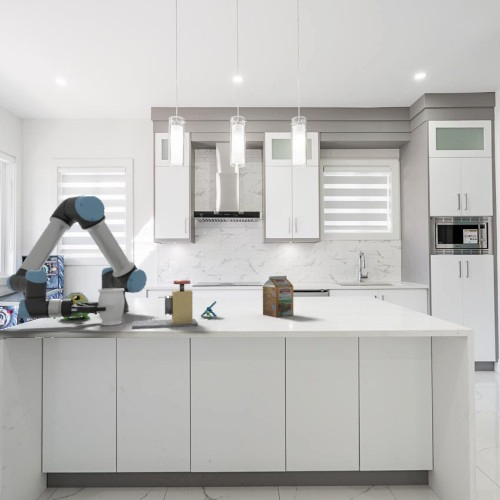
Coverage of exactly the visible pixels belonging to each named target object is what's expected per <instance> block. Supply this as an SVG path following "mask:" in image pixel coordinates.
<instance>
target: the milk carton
mask: <svg viewBox="0 0 500 500" xmlns="http://www.w3.org/2000/svg"><path fill="white" fill-rule="evenodd" d="M262 315H263V316H265V317H267V316H268V317H272V318H283V317H285V318H286V317H292V316H293V317H294V285H293V284H292V283H291V281H290V280H289V279H287V275H273V276H271V275H270V276H268V280H266V281H265V282H264V283H263V284H262Z"/></svg>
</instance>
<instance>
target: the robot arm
mask: <svg viewBox="0 0 500 500" xmlns="http://www.w3.org/2000/svg"><path fill="white" fill-rule="evenodd" d="M105 208H106V207H105V205H104V203H103V201H102V200H101V199H100V198H98V197H97V196H95V195H91V194H83V195H78V196H71V197H68V198H65V199H64V200H63V201H61V203H59V205H58V206H57V207H56V208H55V210H54V211H53V213H52V214H51V216H50V217H49V223H48V225H47V226H46V228H45V229H44V230H43V232H42V233H41V235H40V236H39V238H38V240H37V241H36V242H35V244H34V246H33V247H32V249H31V250H30V252H29V253H28V254H27V256H26V258H25V259H24V261H23V262H22V264H21V265H20V266H19V268H18V269H17V271H16V273H14V274H11V275H10V276H8V277H7V279H6V287H7V289H8V290H10V291H12V292H15V293H25V299H22V300H20V301H19V304H18V307H17V311H18V316H19V318H21V319H32V320H33V319H50V318H51V319H53V320H55V319H56V318H61V317H62V318H64V317H69V318H73V317H72V316H73V313H89V314H92V315H93V314H94V315H98V313H99V312H115V305H101V306H98V301H89V302H88V303H87V302H84V303H82V302H79V303H77V304H74V303H73V299H65V298H63V299H61V298H49V299H48V298H47V293H48V292H47V291H48V290H47V289H48V286H47V285H48V283H47V282H48V276H47V271H46V270H43V269H42V268H43V267H44V266H45V264H46V262H47V260H48V259H49V257H50V256H51V255H52V253H53V251H54V250H55V249H56V247H57V245H58V244H59V243H60V240H61V239H62V237H63V236H64V235H65V232H66V231H69V230H71V228H72V227H73V225H75V224H76V223H78V225H79V226H80V228H81V229H82V230H83V231H87V232H88V234H89V235H90V237H91V238H92V240H93V242H94V243H95V244H96V246H97V247H98V249H99V250H100V252H101V254H102V255H103V257H104V258H105V260H106V261H107V264H108V265H109V266H108V267H104V268H103V269H102V271H101V276H100V277H101V289H103V288H124V291H123V294H124V310H123V313H125V312H129V307H130V306H129V303H128V301H127V297H126V293H132V294H133V293H134V294H136V293H140V292H141V291H143V289H145V286H146V284H147V280H148V279H147V274H146V272H145V271H144V270H142V269H140V268H137V266H136V264H135V262H133V261H130V260H129V259H128V257H127V255H126V254H125V252H124V250H123V249H122V247H121V246H120V244H119V243H118V241H117V239H116V238H115V236H114V234H113V233H112V232H111V230H110V228H109V226H108V225H107V223H106V222H105V220H106V218H107V217H106V216H105V213H106V212H105ZM99 314H100V313H99Z"/></svg>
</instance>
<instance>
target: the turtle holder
mask: <svg viewBox="0 0 500 500" xmlns="http://www.w3.org/2000/svg"><path fill="white" fill-rule="evenodd" d="M64 299H73V303H74V304H77V303H79V302H82V303H84V302H87V303H88V302H90V301H89V299H88V297H87V296H86V295H85V294H84V293H83V292H80V291H79V292H77V291H76V292H68V294H66V296H65V297H64ZM89 315H90V313H73V316H72V317H71V318H82V317H83V318H84V319H85V320H88V319H89V320H90V319H91V317H90V316H89ZM69 318H70V317H62V321H64V322H65V321H66V322H67V321H69Z"/></svg>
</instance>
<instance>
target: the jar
mask: <svg viewBox="0 0 500 500" xmlns="http://www.w3.org/2000/svg"><path fill="white" fill-rule="evenodd" d="M123 291H124V288H103V289H102V288H98V292H99V295H98V301H97V302H98V306H101V305H115V312H99V317H100V319H101V322H100V325H101V326H106V327H107V326H119V325H121V324H122V323H123V321H122V318H123V315H124V312H123V310H124V294H123Z"/></svg>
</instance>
